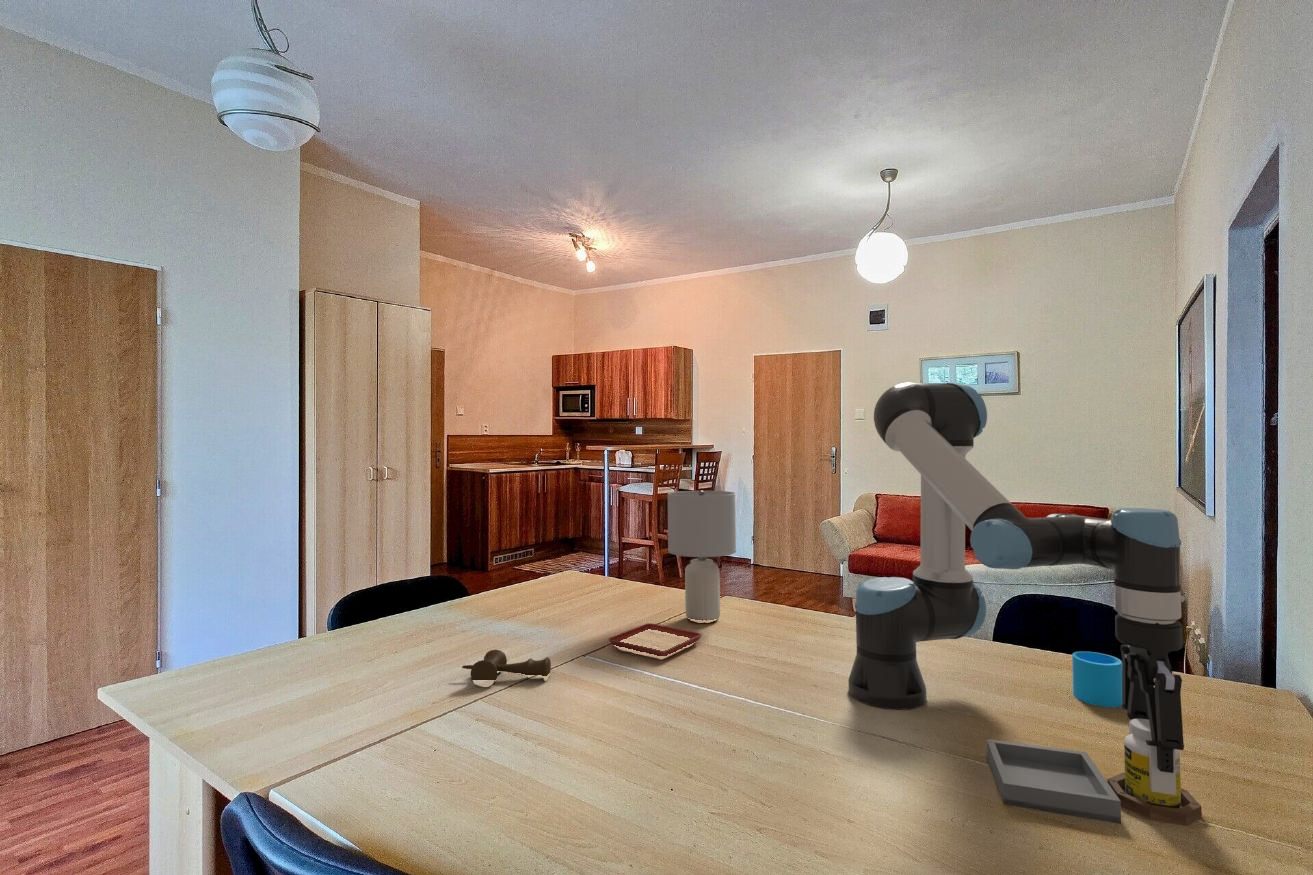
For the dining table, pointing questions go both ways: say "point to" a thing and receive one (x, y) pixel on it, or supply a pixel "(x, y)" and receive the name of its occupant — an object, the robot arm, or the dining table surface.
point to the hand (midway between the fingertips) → (1152, 778)
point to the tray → (1052, 780)
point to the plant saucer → (678, 632)
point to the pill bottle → (1145, 768)
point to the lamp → (702, 544)
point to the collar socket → (1154, 812)
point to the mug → (1097, 679)
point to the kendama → (506, 666)
